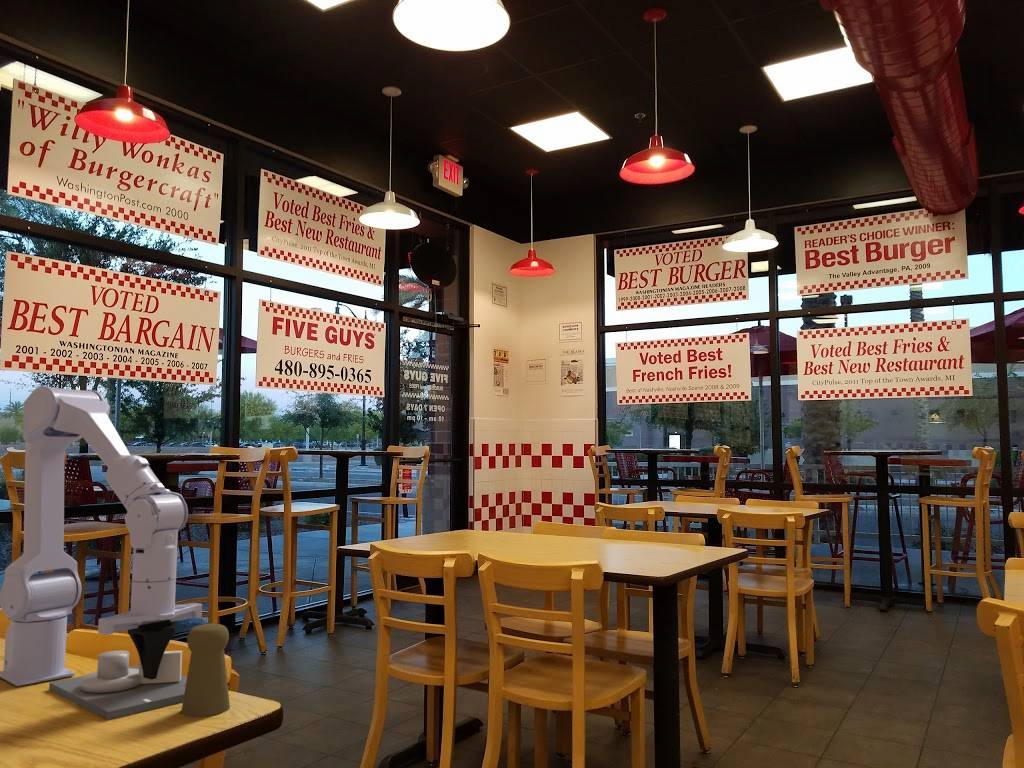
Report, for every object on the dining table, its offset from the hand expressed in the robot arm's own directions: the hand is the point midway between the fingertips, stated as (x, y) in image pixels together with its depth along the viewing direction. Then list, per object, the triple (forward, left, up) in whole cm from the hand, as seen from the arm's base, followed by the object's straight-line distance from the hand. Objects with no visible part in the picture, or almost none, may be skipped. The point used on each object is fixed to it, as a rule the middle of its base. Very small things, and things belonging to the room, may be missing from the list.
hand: (150, 678), depth 112 cm
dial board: (-4, -1, -2) cm, 4 cm away
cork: (+12, +2, -3) cm, 12 cm away
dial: (-4, -1, -1) cm, 4 cm away
